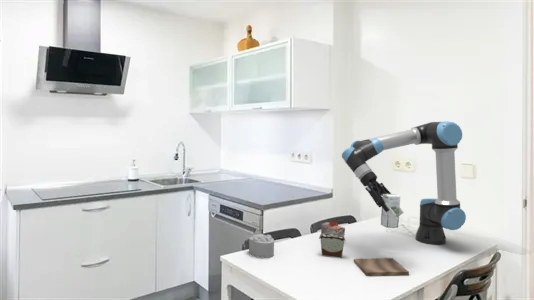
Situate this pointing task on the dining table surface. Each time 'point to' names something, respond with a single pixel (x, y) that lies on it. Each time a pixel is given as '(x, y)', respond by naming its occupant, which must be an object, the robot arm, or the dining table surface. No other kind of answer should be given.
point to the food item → (332, 228)
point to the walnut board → (380, 267)
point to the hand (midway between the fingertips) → (397, 215)
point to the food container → (332, 244)
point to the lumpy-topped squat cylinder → (261, 246)
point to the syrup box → (394, 204)
